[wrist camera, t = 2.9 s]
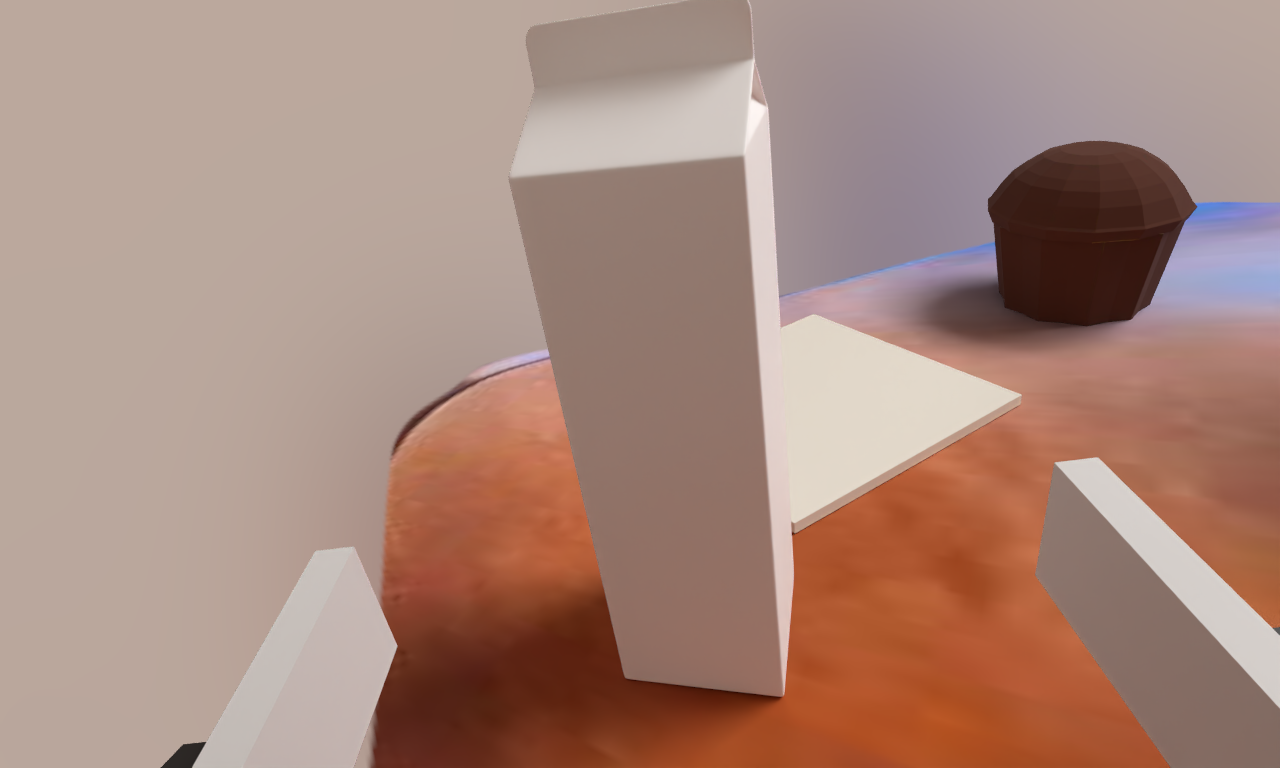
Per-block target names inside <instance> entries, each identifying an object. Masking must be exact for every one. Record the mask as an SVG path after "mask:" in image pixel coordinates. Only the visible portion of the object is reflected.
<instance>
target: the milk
mask: <svg viewBox="0 0 1280 768" xmlns="http://www.w3.org/2000/svg"><path fill="white" fill-rule="evenodd" d="M526 46H527V51H528V56H529V61H530V66H531V71H532V76H533V81H534V87H535V90H534V93H533V97H532V100H531V103H530V106H529V110H528V113H527V117H526V120H525V123H524V126H523V129H522V133H521V136H520V139H519V143H518V146H517V149H516V153H515V156H514V159H513V162H512V166H511V169H510V173H509V183H510V187H511V191H512V196H513V200H514V204H515V208H516V212H517V217H518V221H519V226H520V230H521V234H522V239H523V243H524V247H525V252H526V256H527V260H528V265H529V269H530V273H531V277H532V281H533V286H534V290H535V294H536V299H537V303H538V307H539V311H540V316H541V320H542V325H543V329H544V333H545V337H546V342H547V346H548V351H549V355H550V359H551V363H552V368H553V372H554V376H555V381H556V385H557V389H558V394H559V398H560V402H561V406H562V411H563V415H564V419H565V424H566V428H567V432H568V437H569V441H570V445H571V449H572V454H573V458H574V462H575V467H576V471H577V475H578V480H579V484H580V488H581V492H582V497H583V501H584V505H585V510H586V514H587V518H588V523H589V527H590V531H591V535H592V540H593V544H594V548H595V553H596V557H597V561H598V566H599V570H600V574H601V578H602V583H603V587H604V591H605V596H606V600H607V604H608V609H609V613H610V617H611V622H612V626H613V630H614V634H615V639H616V643H617V647H618V652H619V656H620V660H621V665H622V669H623V673H624V676H625V678H626V679H632V680H640V681H649V682H657V683H666V684H674V685H683V686H691V687H700V688H709V689H717V690H726V691H734V692H743V693H751V694H760V695H768V696H777V697H783V696H784V691H785V679H786V667H787V655H788V642H789V630H790V618H791V606H792V594H793V582H794V566H793V548H792V530H791V512H790V494H789V475H788V457H787V439H786V421H785V403H784V385H783V366H782V348H781V330H780V312H779V294H778V277H777V259H776V258H777V257H776V239H775V222H774V205H773V204H774V203H773V185H772V169H771V168H772V166H771V149H770V131H769V112H768V106H767V102H766V99H765V95H764V91H763V88H762V84H761V81H760V77H759V73H758V70H757V66H756V63H755V59H754V43H753V27H752V13H751V6H750V3H749V1H748V0H685V1H679V2H673V3H667V4H661V5H654V6H648V7H642V8H636V9H630V10H623V11H618V12H611V13H605V14H599V15H593V16H586V17H580V18H574V19H568V20H562V21H555V22H549V23H543V24H538V25H534V26H532V27H531V28H530V29H529V30H528V32H527V36H526Z"/></svg>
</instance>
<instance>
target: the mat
mask: <svg viewBox="0 0 1280 768" xmlns="http://www.w3.org/2000/svg"><path fill="white" fill-rule="evenodd" d="M780 330H781V348H782V366H783V385H784V403H785V421H786V439H787V457H788V475H789V494H790V512H791V530H792V532H794V533H797V532H799V531H800V530H802V529H804V528H806V527H807V526H809V525H811V524H813V523H814V522H816V521H818V520H820V519H821V518H823V517H825V516H827V515H828V514H830V513H832V512H834V511H835V510H837V509H839V508H841V507H842V506H844V505H846V504H848V503H849V502H851V501H853V500H855V499H856V498H858V497H860V496H862V495H863V494H865V493H867V492H869V491H870V490H872V489H874V488H876V487H877V486H879V485H881V484H883V483H884V482H886V481H888V480H890V479H891V478H893V477H895V476H896V475H898V474H900V473H902V472H903V471H905V470H907V469H909V468H910V467H912V466H914V465H916V464H917V463H919V462H921V461H923V460H924V459H926V458H928V457H930V456H931V455H933V454H935V453H937V452H938V451H940V450H942V449H944V448H945V447H947V446H949V445H951V444H952V443H954V442H956V441H958V440H959V439H961V438H963V437H965V436H966V435H968V434H970V433H972V432H973V431H975V430H977V429H979V428H980V427H982V426H984V425H986V424H987V423H989V422H991V421H992V420H994V419H996V418H998V417H999V416H1001V415H1003V414H1005V413H1006V412H1008V411H1010V410H1012V409H1013V408H1015V407H1017V406H1019V405H1020V404H1021V398H1022V395H1021V394H1018V393H1016V392H1013V391H1011V390H1008V389H1006V388H1003V387H1000V386H998V385H995V384H993V383H990V382H988V381H985V380H982V379H980V378H977V377H975V376H972V375H970V374H967V373H964V372H962V371H959V370H957V369H954V368H952V367H949V366H946V365H944V364H941V363H939V362H936V361H933V360H931V359H928V358H926V357H923V356H921V355H918V354H915V353H913V352H910V351H908V350H905V349H903V348H900V347H897V346H895V345H892V344H890V343H887V342H885V341H882V340H879V339H877V338H874V337H872V336H869V335H867V334H864V333H861V332H859V331H856V330H854V329H851V328H849V327H846V326H843V325H841V324H838V323H836V322H833V321H831V320H828V319H825V318H823V317H820V316H818V315H815V314H813V315H810V316H808V317H806V318H803V319H801V320H799V321H796V322H794V323H791V324H789V325H787V326H784V327H782V328H780Z"/></svg>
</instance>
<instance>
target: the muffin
mask: <svg viewBox="0 0 1280 768" xmlns="http://www.w3.org/2000/svg"><path fill="white" fill-rule="evenodd" d="M1196 208H1197V206H1196V205H1195V203H1194V202H1193V201H1192V199H1191V197H1190V195H1189V193H1188V192H1187V190H1186V188H1185V186H1184V185H1183V183H1182V182H1181V181H1180V179H1179V178H1178V176H1177V175H1176V174H1175V173H1174V171H1173V170H1172V169H1171V168H1170V167H1169V166H1168V165H1167V164H1166V163H1165V162H1163V161H1162V160H1161V159H1160V158H1158V157H1156V156H1155V155H1153V154H1151V153H1149V152H1148V151H1146V150H1144V149H1142V148H1139V147H1135V146H1132V145H1128V144H1123V143H1117V142H1108V141H1086V142H1076V143H1071V144H1066V145H1062V146H1058V147H1053V148H1050V149H1048V150H1046V151H1044V152H1042V153H1041V154H1039V155H1037V156H1035V157H1033V158H1032V159H1030V160H1028V161H1027V162H1025V163H1023V164H1022V165H1020V166H1019V167H1018V168H1016V169H1015V170H1013V171H1012V172H1011V174H1010V175H1008V177H1007V178H1006V179H1005V180H1004V181H1003V182H1002V183H1001V184H1000V186H999V187H998V188H997V190H996V191H995V192H994V193H993V195H992V196H991V197H990V198H989V199H988V212H989V214H990V217H991V219H992V222H993V223H994V233H995V246H996V259H997V271H998V284H999V292H1000V294H1001V296H1002V297H1003V299H1004V304H1005V308H1008V309H1011V310H1014V311H1016V312H1019V313H1022V314H1024V315H1026V316H1028V317H1030V318H1033V319H1035V320H1037V321H1046V322H1061V323H1069V324H1076V325H1083V326H1089V325H1094V324H1100V323H1105V322H1112V321H1122V320H1131V319H1132V318H1133V317H1134V316H1135V314H1136V313H1137V312H1138V311H1140V310H1141V309H1143V308H1145V307H1146V306H1148V305H1150V303H1151V300H1152V298H1153V296H1154V293H1155V291H1156V289H1157V286H1158V284H1159V281H1160V279H1161V277H1162V274H1163V272H1164V270H1165V267H1166V265H1167V262H1168V260H1169V258H1170V255H1171V253H1172V251H1173V248H1174V246H1175V244H1176V241H1177V239H1178V236H1179V234H1180V232H1181V229H1182V227H1183V225H1184V222H1185V221H1186V220H1187V219H1188V218H1189V216H1190V215H1191V214H1192V213H1193V211H1194V210H1195V209H1196Z"/></svg>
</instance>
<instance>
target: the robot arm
mask: <svg viewBox="0 0 1280 768" xmlns="http://www.w3.org/2000/svg"><path fill="white" fill-rule="evenodd" d="M1035 575H1036V577H1037V578H1038V580H1039V581H1040V583H1041V584H1042V585H1043V587H1044V588H1045V590H1046V591H1047V593H1048V594H1049V595H1050V597H1051V598H1052V600H1053V601H1054V602H1055V604H1056V605H1057V607H1058V608H1059V610H1060V611H1061V612H1062V614H1063V615H1064V617H1065V618H1066V619H1067V621H1068V622H1069V624H1070V625H1071V627H1072V628H1073V629H1074V631H1075V632H1076V634H1077V635H1078V637H1079V638H1080V639H1081V641H1082V642H1083V644H1084V645H1085V646H1086V648H1087V649H1088V651H1089V652H1090V654H1091V655H1092V656H1093V658H1094V659H1095V661H1096V662H1097V664H1098V665H1099V666H1100V668H1101V669H1102V671H1103V672H1104V673H1105V675H1106V676H1107V678H1108V679H1109V681H1110V682H1111V683H1112V685H1113V686H1114V688H1115V689H1116V691H1117V692H1118V693H1119V695H1120V696H1121V698H1122V699H1123V700H1124V702H1125V703H1126V705H1127V706H1128V708H1129V709H1130V710H1131V712H1132V713H1133V715H1134V716H1135V718H1136V719H1137V720H1138V722H1139V723H1140V725H1141V726H1142V727H1143V729H1144V730H1145V732H1146V733H1147V735H1148V736H1149V737H1150V739H1151V740H1152V742H1153V743H1154V744H1155V746H1156V747H1157V749H1158V750H1159V752H1160V753H1161V754H1162V756H1163V757H1164V759H1165V760H1166V762H1167V763H1168V764H1169V766H1170V767H1171V768H1280V627H1278V628H1272V627H1271V626H1270V625H1269V624H1268V623H1266V622H1265V621H1264V620H1263V619H1262V618H1261V617H1260V616H1259V615H1258V614H1257V613H1256V612H1255V611H1254V610H1253V609H1252V608H1251V607H1250V606H1249V605H1248V604H1247V603H1246V602H1245V601H1244V600H1243V599H1242V598H1241V597H1240V596H1239V595H1238V594H1237V593H1236V592H1235V591H1234V590H1233V589H1232V588H1231V587H1230V586H1229V585H1228V584H1227V583H1226V582H1225V581H1224V580H1223V579H1222V578H1221V577H1219V576H1218V575H1217V574H1216V573H1215V572H1214V571H1213V570H1212V569H1211V568H1210V567H1209V566H1208V565H1207V564H1206V563H1205V562H1204V561H1203V560H1202V559H1201V558H1200V557H1199V556H1198V555H1197V554H1196V553H1195V552H1194V551H1193V550H1192V549H1191V548H1190V547H1189V546H1188V545H1187V544H1186V543H1185V542H1184V541H1183V540H1182V539H1181V538H1180V537H1179V536H1178V535H1177V534H1176V533H1175V532H1174V531H1173V530H1171V529H1170V528H1169V527H1168V526H1167V525H1166V524H1165V523H1164V522H1163V521H1162V520H1161V519H1160V518H1159V517H1158V516H1157V515H1156V514H1155V513H1154V512H1153V511H1152V510H1151V509H1150V508H1149V507H1148V506H1147V505H1146V504H1145V503H1144V502H1143V501H1142V500H1141V499H1140V498H1139V497H1138V496H1137V495H1136V494H1135V493H1134V492H1133V491H1132V490H1131V489H1130V488H1129V487H1128V486H1127V485H1126V484H1125V483H1123V482H1122V481H1121V480H1120V479H1119V478H1118V477H1117V476H1116V475H1115V474H1114V473H1113V472H1112V471H1111V470H1110V469H1109V468H1108V467H1107V466H1106V465H1105V464H1104V463H1103V462H1102V461H1101V460H1100V459H1099V458H1098V457H1097V458H1088V459H1080V460H1072V461H1063V462H1055V463H1054V468H1053V474H1052V480H1051V486H1050V492H1049V498H1048V503H1047V509H1046V515H1045V521H1044V527H1043V533H1042V539H1041V545H1040V550H1039V556H1038V562H1037V568H1036V574H1035ZM396 649H397V644H396V642H395V639H394V637H393V635H392V632H391V630H390V628H389V626H388V623H387V621H386V619H385V616H384V614H383V612H382V610H381V607H380V605H379V603H378V600H377V598H376V596H375V594H374V591H373V589H372V587H371V584H370V582H369V580H368V578H367V575H366V573H365V571H364V568H363V566H362V564H361V562H360V559H359V557H358V555H357V552H356V550H355V548H354V547H345V548H337V549H328V550H320V551H315V553H314V554H313V556H312V558H311V560H310V561H309V563H308V565H307V567H306V568H305V570H304V572H303V574H302V576H301V577H300V579H299V581H298V583H297V584H296V586H295V588H294V589H293V591H292V593H291V595H290V597H289V598H288V600H287V602H286V603H285V606H284V607H283V609H282V611H281V612H280V614H279V616H278V618H277V619H276V621H275V623H274V625H273V626H272V628H271V630H270V632H269V634H268V635H267V637H266V639H265V640H264V642H263V644H262V646H261V648H260V649H259V651H258V653H257V654H256V657H255V658H254V660H253V661H252V664H251V665H250V667H249V668H248V670H247V672H246V674H245V676H244V677H243V679H242V681H241V683H240V684H239V686H238V688H237V690H236V691H235V693H234V695H233V697H232V698H231V700H230V702H229V704H228V705H227V707H226V709H225V711H224V712H223V714H222V716H221V718H220V719H219V721H218V723H217V725H216V726H215V728H214V730H213V732H212V733H211V735H210V737H209V739H208V740H207V742H202V743H192V744H183V746H181V747H180V748H179V749H178V750H177V751H176V753H175V754H174V755H173V756H172V757H171V758H170V759H169V760H168V761H167V762H166V763H165V764H164V765H163V766H162V767H161V768H354V766H355V763H356V760H357V757H358V755H359V752H360V749H361V746H362V743H363V740H364V738H365V735H366V732H367V730H368V727H369V724H370V721H371V718H372V716H373V713H374V710H375V707H376V704H377V702H378V699H379V696H380V693H381V691H382V688H383V685H384V682H385V679H386V677H387V674H388V671H389V668H390V665H391V663H392V660H393V657H394V654H395V652H396Z"/></svg>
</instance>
